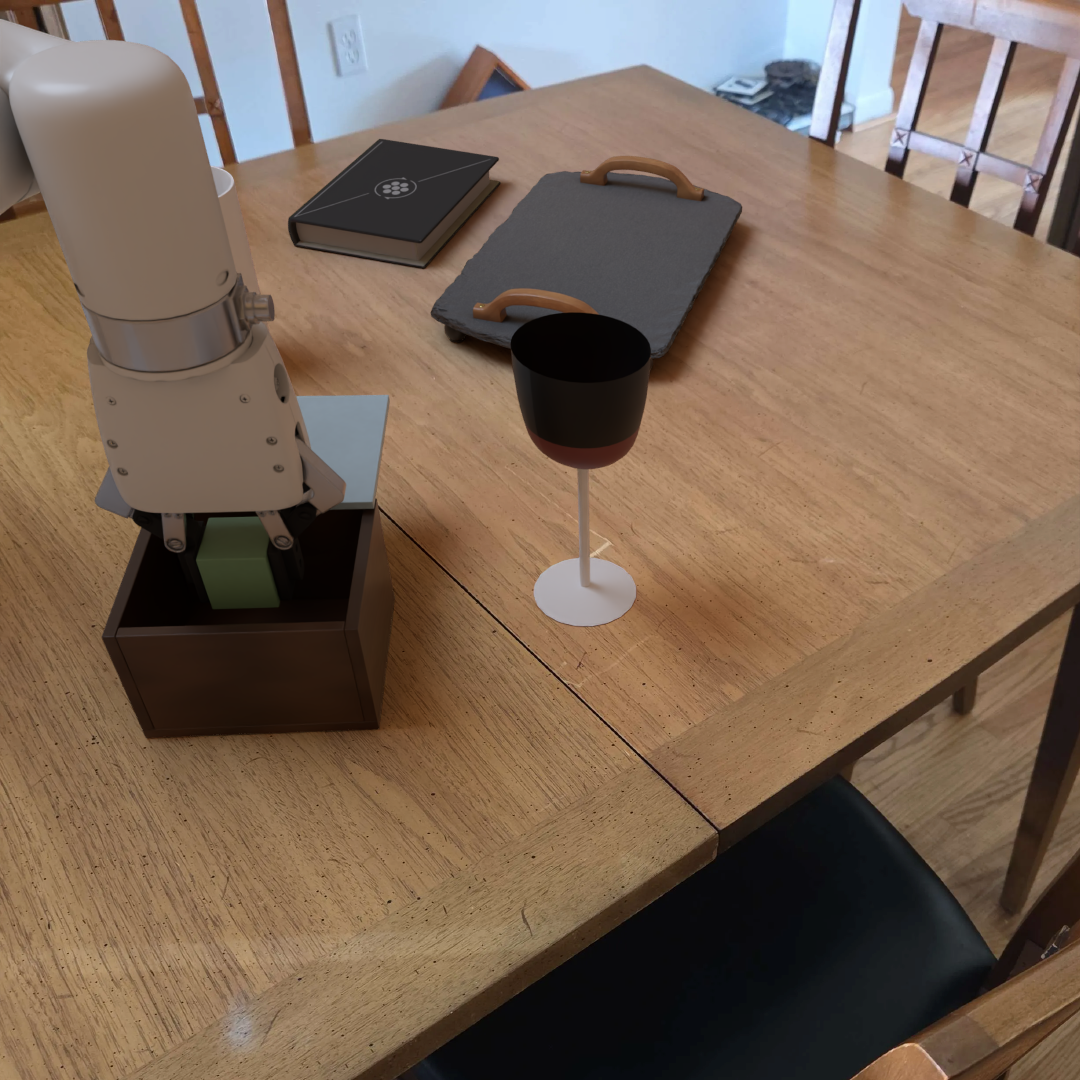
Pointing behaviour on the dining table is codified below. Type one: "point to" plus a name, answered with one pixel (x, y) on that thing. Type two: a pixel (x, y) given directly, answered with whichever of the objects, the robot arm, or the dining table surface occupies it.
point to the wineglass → (582, 438)
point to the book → (395, 203)
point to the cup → (236, 229)
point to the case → (258, 639)
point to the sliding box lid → (348, 441)
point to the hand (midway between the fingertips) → (250, 584)
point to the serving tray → (594, 254)
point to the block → (237, 564)
